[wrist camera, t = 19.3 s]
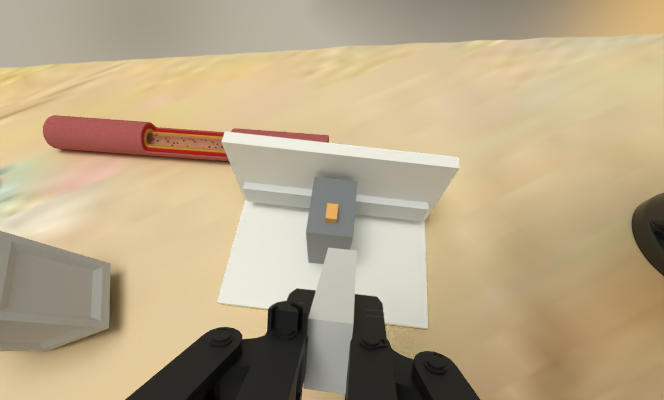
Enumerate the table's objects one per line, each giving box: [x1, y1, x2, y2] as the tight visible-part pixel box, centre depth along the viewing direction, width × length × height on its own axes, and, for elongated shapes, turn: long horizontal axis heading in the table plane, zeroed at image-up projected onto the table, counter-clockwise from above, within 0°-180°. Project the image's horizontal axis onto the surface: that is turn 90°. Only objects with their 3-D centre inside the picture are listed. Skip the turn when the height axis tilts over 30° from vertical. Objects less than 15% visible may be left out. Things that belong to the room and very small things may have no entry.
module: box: [306, 177, 357, 264], centre depth 40 cm, size 5×7×11 cm
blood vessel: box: [43, 115, 329, 161], centre depth 51 cm, size 42×5×5 cm, turn 86°
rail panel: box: [217, 131, 459, 329], centre depth 39 cm, size 26×16×14 cm, turn 84°
